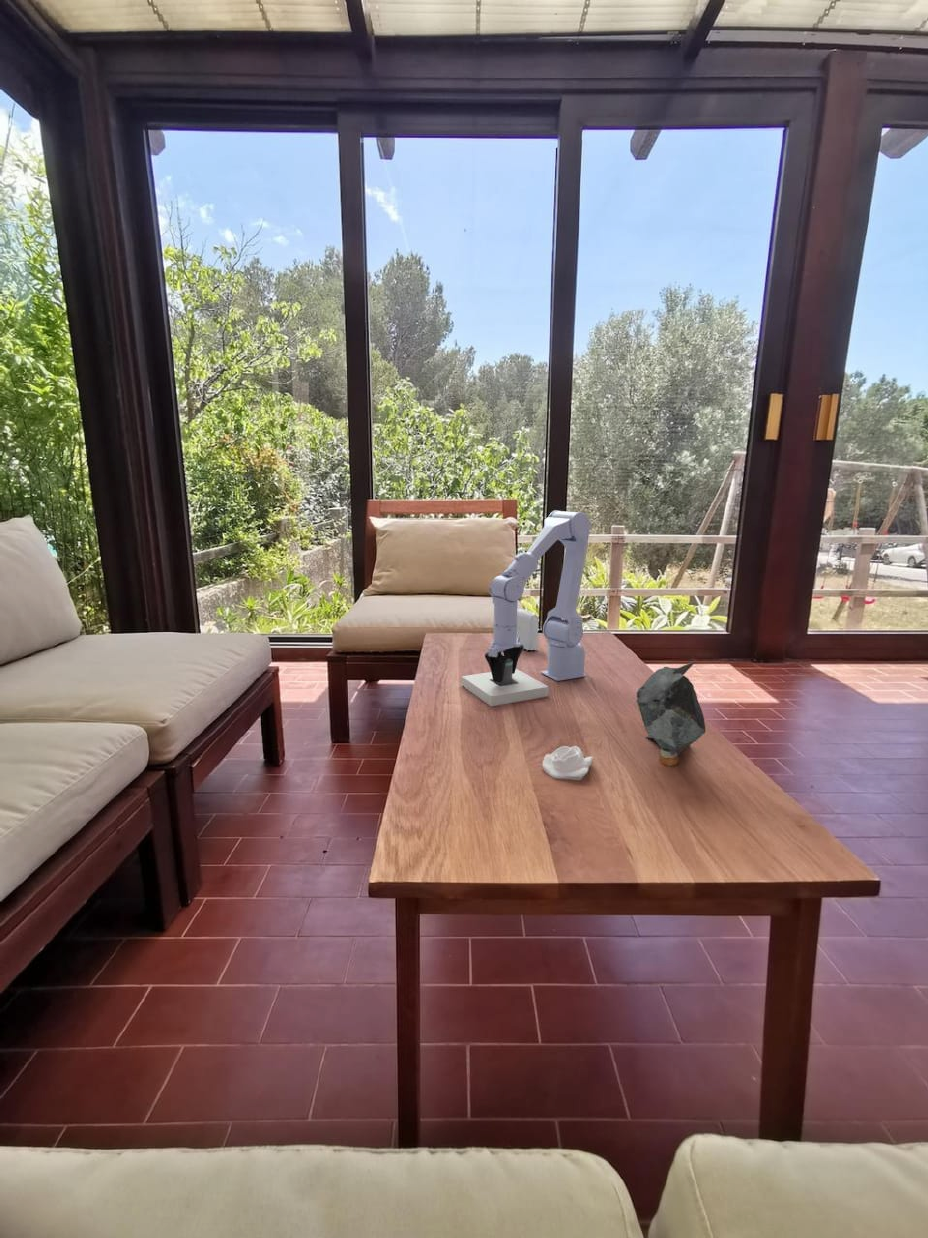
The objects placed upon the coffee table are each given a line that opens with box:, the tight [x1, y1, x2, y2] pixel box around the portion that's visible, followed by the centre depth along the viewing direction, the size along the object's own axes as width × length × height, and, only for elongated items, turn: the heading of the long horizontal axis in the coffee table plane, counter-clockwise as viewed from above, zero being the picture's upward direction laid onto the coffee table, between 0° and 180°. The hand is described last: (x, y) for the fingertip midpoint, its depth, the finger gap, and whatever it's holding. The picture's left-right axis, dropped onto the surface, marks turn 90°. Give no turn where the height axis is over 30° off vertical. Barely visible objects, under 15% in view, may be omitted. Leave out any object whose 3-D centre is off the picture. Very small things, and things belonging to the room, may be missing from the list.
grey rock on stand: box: [636, 659, 706, 767], centre depth 113 cm, size 14×15×18 cm
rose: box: [542, 745, 594, 781], centre depth 109 cm, size 10×4×10 cm
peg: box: [496, 659, 513, 686], centre depth 149 cm, size 4×4×8 cm
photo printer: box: [517, 608, 539, 651], centre depth 187 cm, size 10×4×12 cm, turn 39°
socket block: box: [461, 668, 550, 707], centre depth 149 cm, size 16×16×2 cm
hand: (504, 677), depth 149 cm, fingers open, 7 cm apart
